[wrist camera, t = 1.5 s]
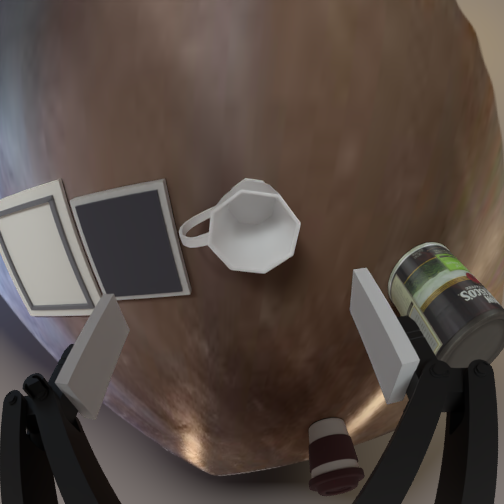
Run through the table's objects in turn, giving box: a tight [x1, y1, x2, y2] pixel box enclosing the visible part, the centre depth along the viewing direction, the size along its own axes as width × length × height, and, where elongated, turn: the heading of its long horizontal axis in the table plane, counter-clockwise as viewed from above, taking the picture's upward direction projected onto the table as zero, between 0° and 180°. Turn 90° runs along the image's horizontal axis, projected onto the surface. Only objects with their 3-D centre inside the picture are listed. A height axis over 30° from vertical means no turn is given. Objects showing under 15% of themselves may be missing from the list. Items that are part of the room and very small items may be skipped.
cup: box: [179, 178, 301, 274], centre depth 26 cm, size 7×10×8 cm
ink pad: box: [70, 179, 191, 300], centre depth 30 cm, size 13×11×1 cm
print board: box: [0, 179, 102, 316], centre depth 31 cm, size 18×15×1 cm
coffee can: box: [388, 242, 504, 368], centre depth 28 cm, size 10×10×14 cm
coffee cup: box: [309, 418, 364, 496], centre depth 44 cm, size 10×10×15 cm
